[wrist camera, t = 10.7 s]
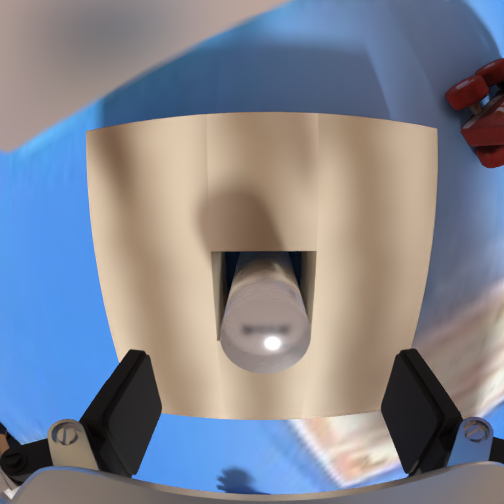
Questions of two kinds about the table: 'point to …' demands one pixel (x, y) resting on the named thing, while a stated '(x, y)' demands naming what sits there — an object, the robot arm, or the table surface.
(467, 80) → the toy fire truck
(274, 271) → the steel peg
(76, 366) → the table surface
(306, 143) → the hole block
